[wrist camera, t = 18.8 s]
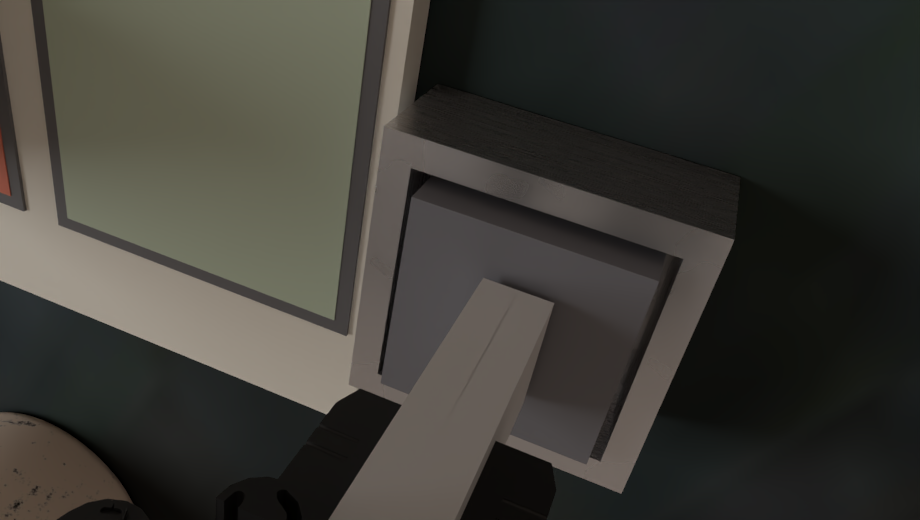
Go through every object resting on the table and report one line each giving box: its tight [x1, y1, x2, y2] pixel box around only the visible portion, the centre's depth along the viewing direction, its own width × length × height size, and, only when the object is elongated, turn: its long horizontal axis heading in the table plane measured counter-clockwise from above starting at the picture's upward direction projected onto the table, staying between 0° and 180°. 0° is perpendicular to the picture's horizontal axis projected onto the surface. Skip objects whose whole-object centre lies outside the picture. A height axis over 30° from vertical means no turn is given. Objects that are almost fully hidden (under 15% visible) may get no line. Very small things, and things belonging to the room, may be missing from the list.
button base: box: [349, 84, 741, 493], centre depth 18 cm, size 7×7×3 cm
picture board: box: [0, 0, 430, 414], centre depth 21 cm, size 16×22×1 cm
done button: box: [381, 175, 666, 465], centre depth 17 cm, size 5×5×3 cm
